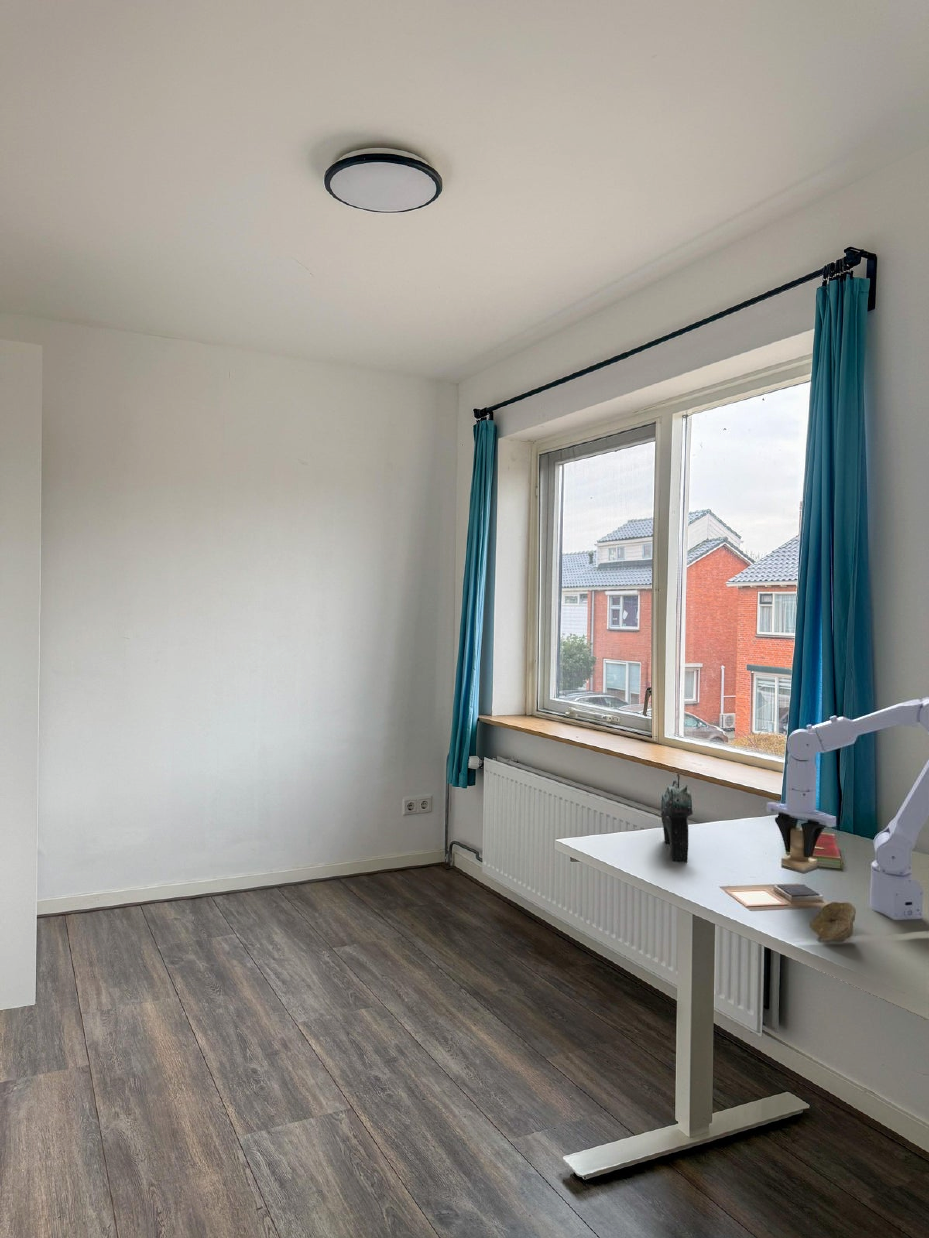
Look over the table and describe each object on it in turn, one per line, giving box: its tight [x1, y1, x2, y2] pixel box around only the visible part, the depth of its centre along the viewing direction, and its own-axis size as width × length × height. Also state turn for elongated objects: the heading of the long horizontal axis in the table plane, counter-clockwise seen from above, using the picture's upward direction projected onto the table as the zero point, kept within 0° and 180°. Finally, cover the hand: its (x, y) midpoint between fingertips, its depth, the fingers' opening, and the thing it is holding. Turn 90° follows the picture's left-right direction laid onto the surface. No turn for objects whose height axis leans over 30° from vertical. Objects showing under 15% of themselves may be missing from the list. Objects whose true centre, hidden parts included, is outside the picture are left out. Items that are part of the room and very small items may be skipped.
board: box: [718, 883, 831, 912], centre depth 177 cm, size 14×18×1 cm
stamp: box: [780, 827, 818, 875], centre depth 177 cm, size 5×5×8 cm
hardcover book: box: [785, 832, 843, 870], centre depth 207 cm, size 12×21×4 cm, turn 160°
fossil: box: [808, 901, 856, 942], centre depth 158 cm, size 9×4×10 cm
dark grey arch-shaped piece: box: [660, 771, 693, 863], centre depth 210 cm, size 20×6×20 cm, turn 173°
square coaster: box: [724, 889, 788, 908], centre depth 176 cm, size 9×9×1 cm
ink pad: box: [774, 883, 824, 902], centre depth 177 cm, size 7×7×1 cm
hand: (799, 853), depth 177 cm, fingers closed on stamp, 4 cm apart
